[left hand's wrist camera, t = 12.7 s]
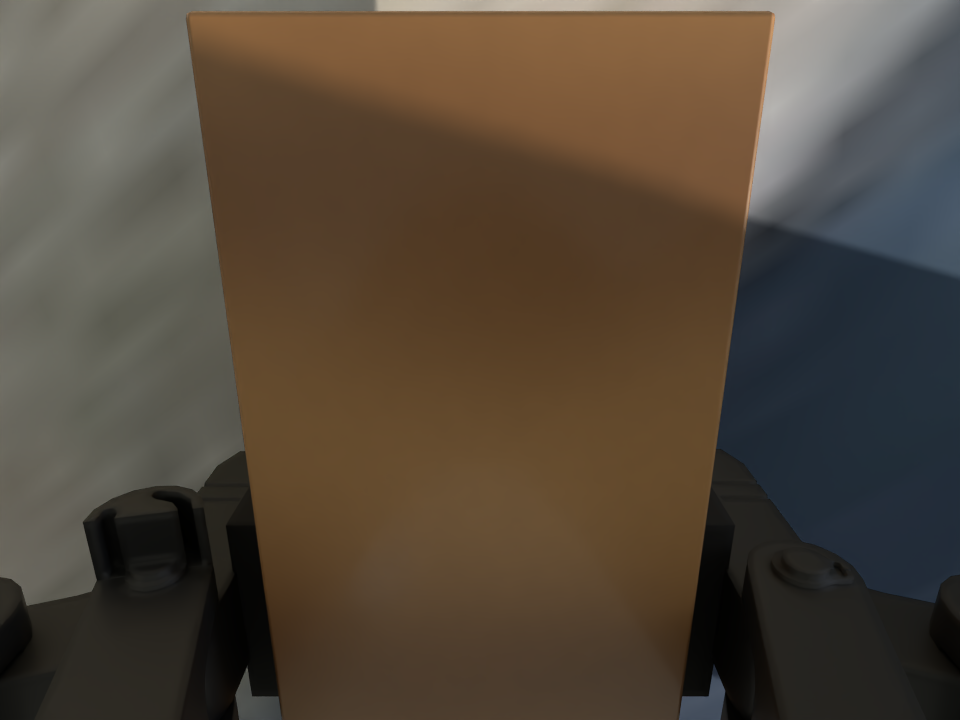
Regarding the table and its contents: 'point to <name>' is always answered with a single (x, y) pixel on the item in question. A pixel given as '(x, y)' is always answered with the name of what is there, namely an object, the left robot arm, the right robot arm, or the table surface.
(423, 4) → the table surface
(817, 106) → the table surface
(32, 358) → the table surface
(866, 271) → the table surface
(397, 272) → the beam
